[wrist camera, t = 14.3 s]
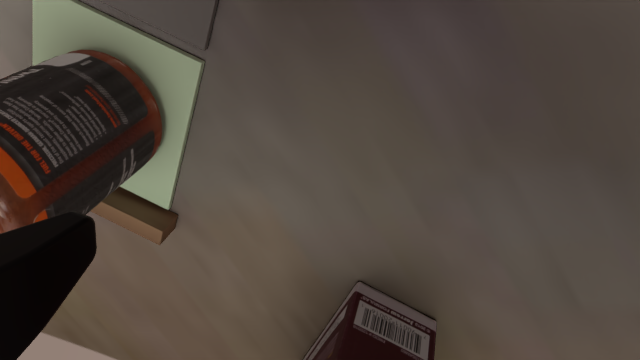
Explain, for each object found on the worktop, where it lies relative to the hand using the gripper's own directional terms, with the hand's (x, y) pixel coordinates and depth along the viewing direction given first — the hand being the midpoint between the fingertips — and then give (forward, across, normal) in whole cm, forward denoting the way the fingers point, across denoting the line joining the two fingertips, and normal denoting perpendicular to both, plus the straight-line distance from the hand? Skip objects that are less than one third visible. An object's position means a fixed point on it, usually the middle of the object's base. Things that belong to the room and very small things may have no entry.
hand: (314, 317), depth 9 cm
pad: (+12, +13, +5) cm, 18 cm away
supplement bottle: (+12, +12, +5) cm, 18 cm away
